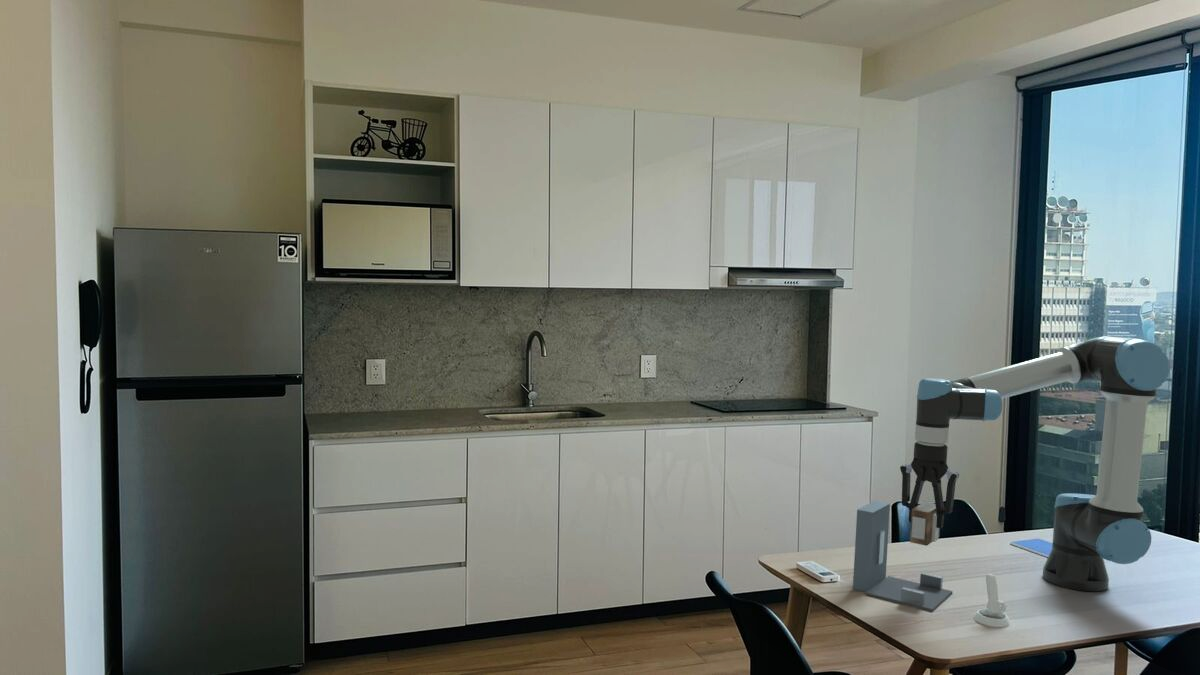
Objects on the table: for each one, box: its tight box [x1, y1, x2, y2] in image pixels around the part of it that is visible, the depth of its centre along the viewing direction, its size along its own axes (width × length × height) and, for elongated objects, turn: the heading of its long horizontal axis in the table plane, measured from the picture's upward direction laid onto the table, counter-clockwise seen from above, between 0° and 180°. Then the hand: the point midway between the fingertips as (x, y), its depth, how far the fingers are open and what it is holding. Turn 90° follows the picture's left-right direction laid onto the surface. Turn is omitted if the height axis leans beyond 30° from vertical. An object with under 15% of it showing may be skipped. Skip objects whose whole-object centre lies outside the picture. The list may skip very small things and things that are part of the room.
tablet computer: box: [1009, 538, 1053, 559], centre depth 256 cm, size 19×13×1 cm, turn 24°
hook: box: [972, 573, 1011, 628], centre depth 203 cm, size 8×12×7 cm
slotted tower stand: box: [852, 500, 953, 612], centre depth 217 cm, size 20×16×20 cm
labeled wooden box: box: [909, 501, 941, 546], centre depth 213 cm, size 4×11×8 cm, turn 143°
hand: (924, 538), depth 213 cm, fingers closed on labeled wooden box, 4 cm apart
